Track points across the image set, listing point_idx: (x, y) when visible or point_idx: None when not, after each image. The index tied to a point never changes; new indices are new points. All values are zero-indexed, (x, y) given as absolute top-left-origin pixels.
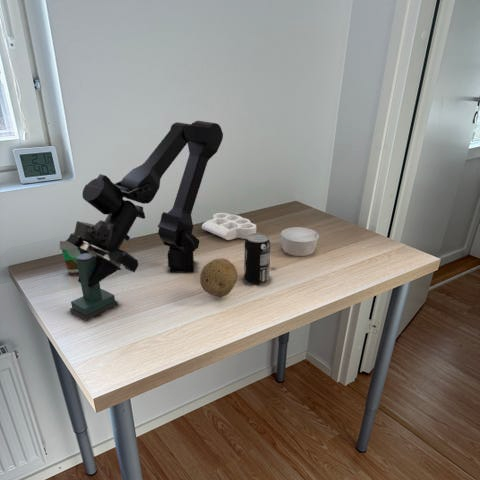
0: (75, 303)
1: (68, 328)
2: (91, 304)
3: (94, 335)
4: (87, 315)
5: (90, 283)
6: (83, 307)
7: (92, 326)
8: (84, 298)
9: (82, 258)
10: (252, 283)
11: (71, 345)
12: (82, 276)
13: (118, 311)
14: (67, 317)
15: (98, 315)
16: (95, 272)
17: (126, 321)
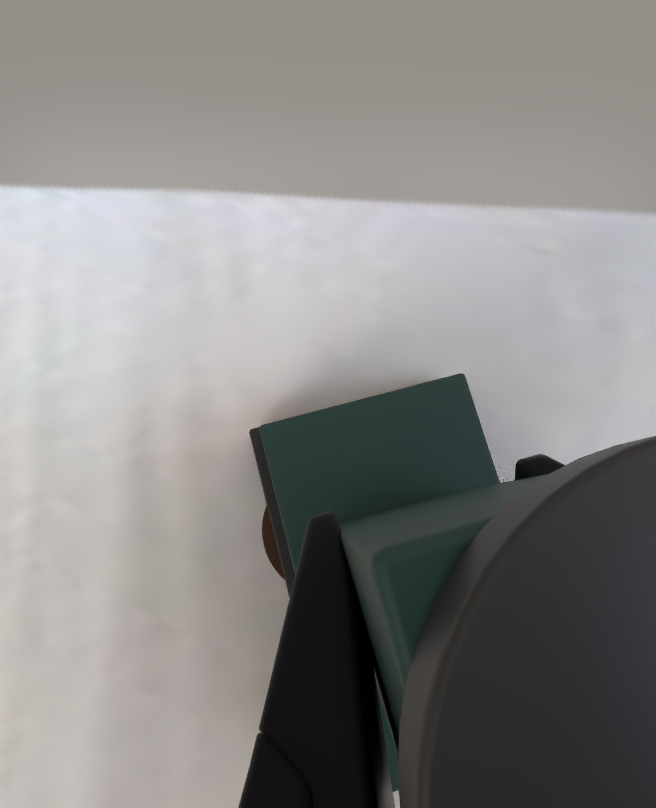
0: (407, 396)
1: (238, 294)
2: (301, 512)
3: (29, 406)
4: (261, 448)
5: (302, 559)
6: (290, 428)
7: (153, 441)
8: (438, 495)
9: (623, 594)
10: None
11: (23, 239)
12: (470, 497)
13: (235, 720)
14: (391, 339)
15: (271, 543)
16: (275, 741)
17: (41, 704)
